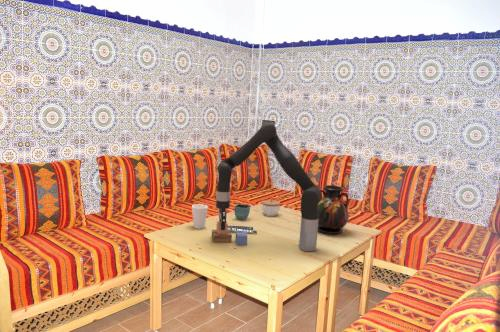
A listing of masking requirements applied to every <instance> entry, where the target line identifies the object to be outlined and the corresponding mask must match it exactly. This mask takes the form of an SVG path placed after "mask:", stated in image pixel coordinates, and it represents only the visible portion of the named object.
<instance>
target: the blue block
mask: <svg viewBox="0 0 500 332" xmlns="http://www.w3.org/2000/svg"><path fill="white" fill-rule="evenodd" d="M234 241H235V245H236V246H247V245H248V234H247V232H245V231H244V232H243V231H242V232H239V231H238V232H237V231H236V232H235V240H234Z"/></svg>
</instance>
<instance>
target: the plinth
mask: <svg viewBox="0 0 500 332" xmlns="http://www.w3.org/2000/svg"><path fill="white" fill-rule="evenodd" d="M232 235H233V234H232V233H231V230H230V229H227V234H217V232H216V229H211V239H212V244H213V243H214V244H215V243H218V244H219V243H232V239H233V238H232V237H233V236H232Z"/></svg>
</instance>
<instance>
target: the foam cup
mask: <svg viewBox="0 0 500 332" xmlns="http://www.w3.org/2000/svg"><path fill="white" fill-rule="evenodd" d="M208 208H209V207H208V205H206V204H201V203H200V204H198V203H197V204H196V203H195V204H192V206H191V211H192V221H193V222H192V223H193V228H194V229H198V230H199V229H200V230H201V229H204V228H205V227H206V225H205V224H206V219H207V215H208V210H209V209H208Z"/></svg>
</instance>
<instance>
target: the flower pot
mask: <svg viewBox="0 0 500 332" xmlns="http://www.w3.org/2000/svg"><path fill="white" fill-rule="evenodd" d="M233 211H234V216H235V218H236V220H237V221H246V220H247V219H248V217H249V215H250V212H251V205H250V204H241V203H237V204H236V205H235V206H234V207H233Z"/></svg>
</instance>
